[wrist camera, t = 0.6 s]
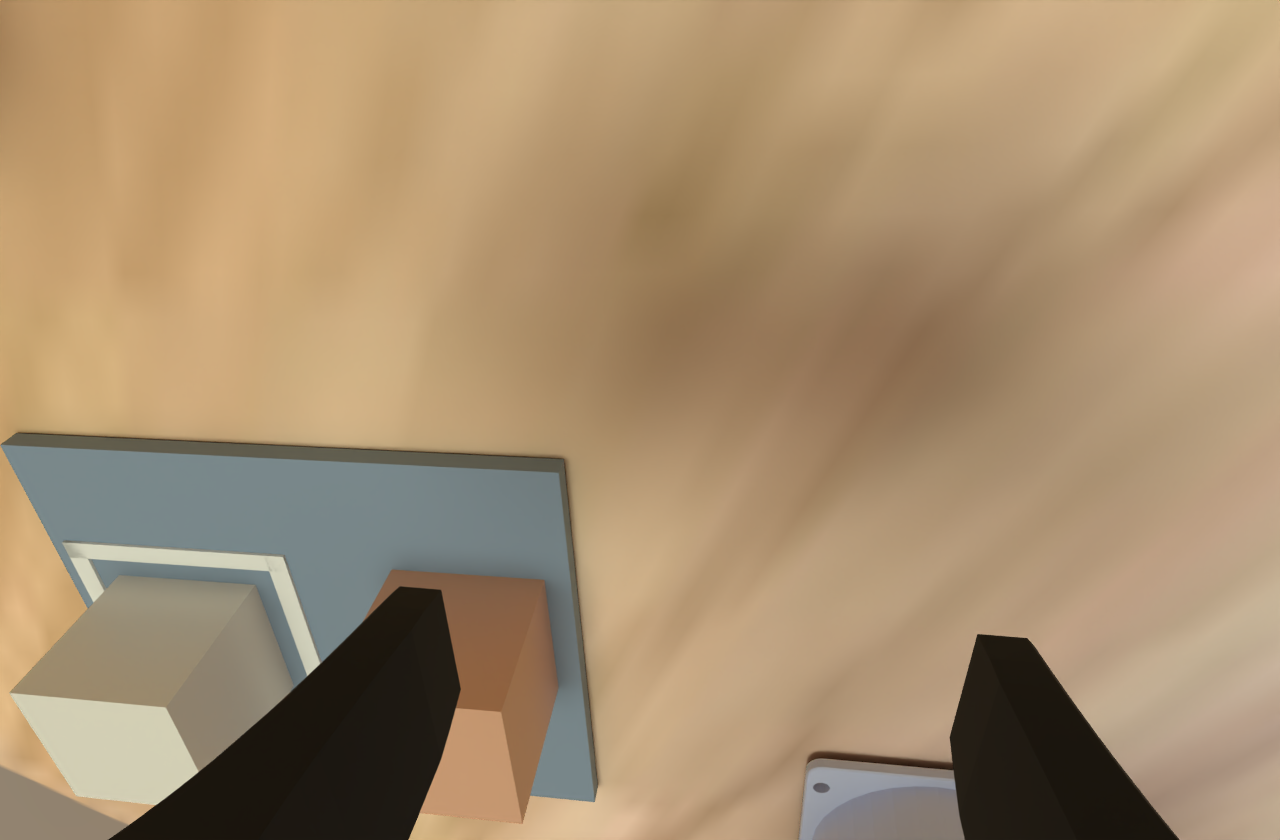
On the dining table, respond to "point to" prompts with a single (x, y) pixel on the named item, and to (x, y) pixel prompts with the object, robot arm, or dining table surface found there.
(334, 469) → the board
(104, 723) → the base block
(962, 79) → the dining table surface
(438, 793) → the top block
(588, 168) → the dining table surface
